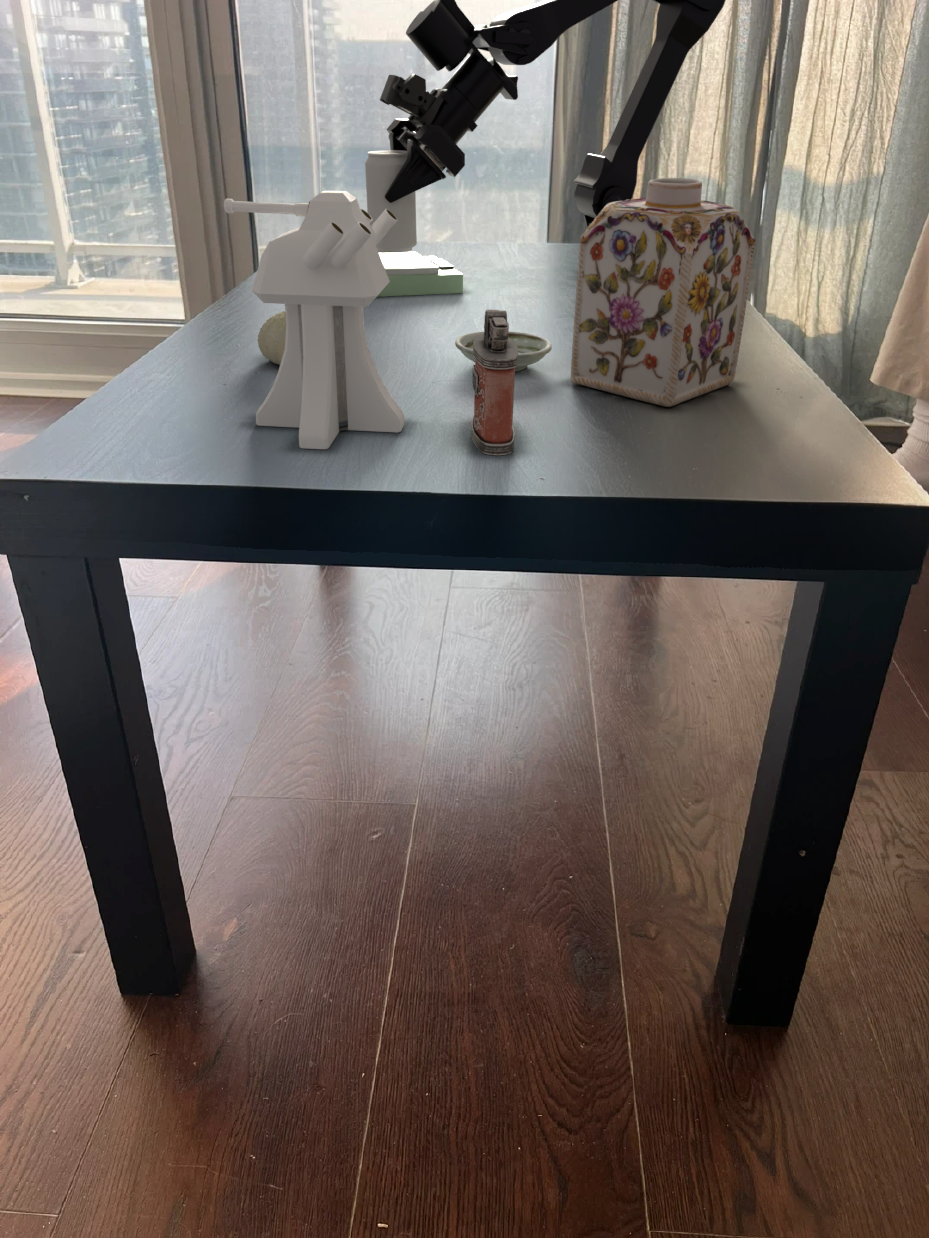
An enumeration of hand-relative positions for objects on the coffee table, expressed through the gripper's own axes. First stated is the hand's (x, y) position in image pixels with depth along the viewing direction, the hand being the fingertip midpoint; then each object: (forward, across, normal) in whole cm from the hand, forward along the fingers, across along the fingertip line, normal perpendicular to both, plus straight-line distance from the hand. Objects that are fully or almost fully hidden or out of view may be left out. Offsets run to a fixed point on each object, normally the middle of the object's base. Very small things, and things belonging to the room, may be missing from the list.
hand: (381, 197), depth 127 cm
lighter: (+12, +63, +4) cm, 64 cm away
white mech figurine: (+21, +56, -5) cm, 60 cm away
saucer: (+6, +42, +10) cm, 44 cm away
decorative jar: (-2, +52, +18) cm, 55 cm away
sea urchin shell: (+20, +36, -4) cm, 41 cm away
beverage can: (+4, 0, +6) cm, 7 cm away
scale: (+7, 0, +9) cm, 11 cm away
